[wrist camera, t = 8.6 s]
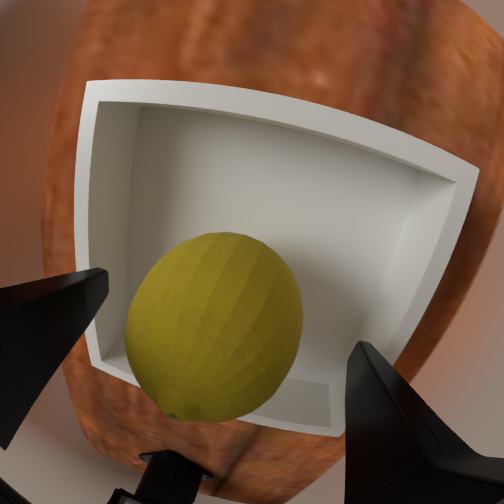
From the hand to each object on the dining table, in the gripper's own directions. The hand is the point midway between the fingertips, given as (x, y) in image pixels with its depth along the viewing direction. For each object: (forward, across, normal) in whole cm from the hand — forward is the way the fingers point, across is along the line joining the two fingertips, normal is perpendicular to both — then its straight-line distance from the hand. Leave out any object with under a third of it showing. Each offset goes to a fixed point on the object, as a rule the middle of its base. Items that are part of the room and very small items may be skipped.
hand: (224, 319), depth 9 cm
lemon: (+4, 0, 0) cm, 4 cm away
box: (+5, 0, 0) cm, 5 cm away
